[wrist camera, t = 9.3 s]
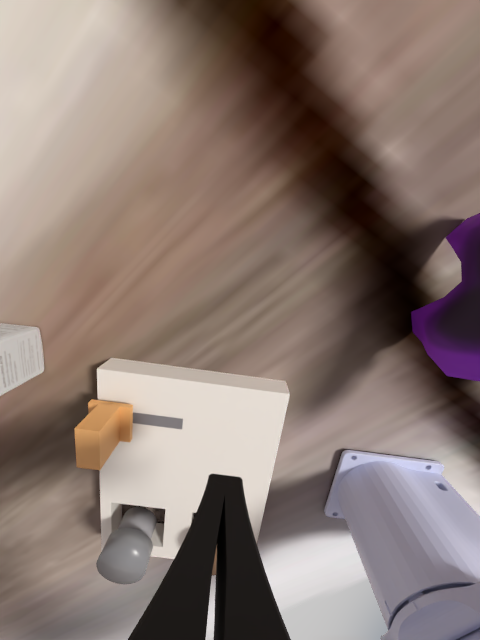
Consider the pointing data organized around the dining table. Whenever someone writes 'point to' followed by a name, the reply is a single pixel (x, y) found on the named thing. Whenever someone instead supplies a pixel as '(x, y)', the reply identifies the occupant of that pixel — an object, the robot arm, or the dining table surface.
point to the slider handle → (102, 432)
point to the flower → (456, 311)
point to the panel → (187, 442)
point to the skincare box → (19, 355)
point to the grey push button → (128, 547)
